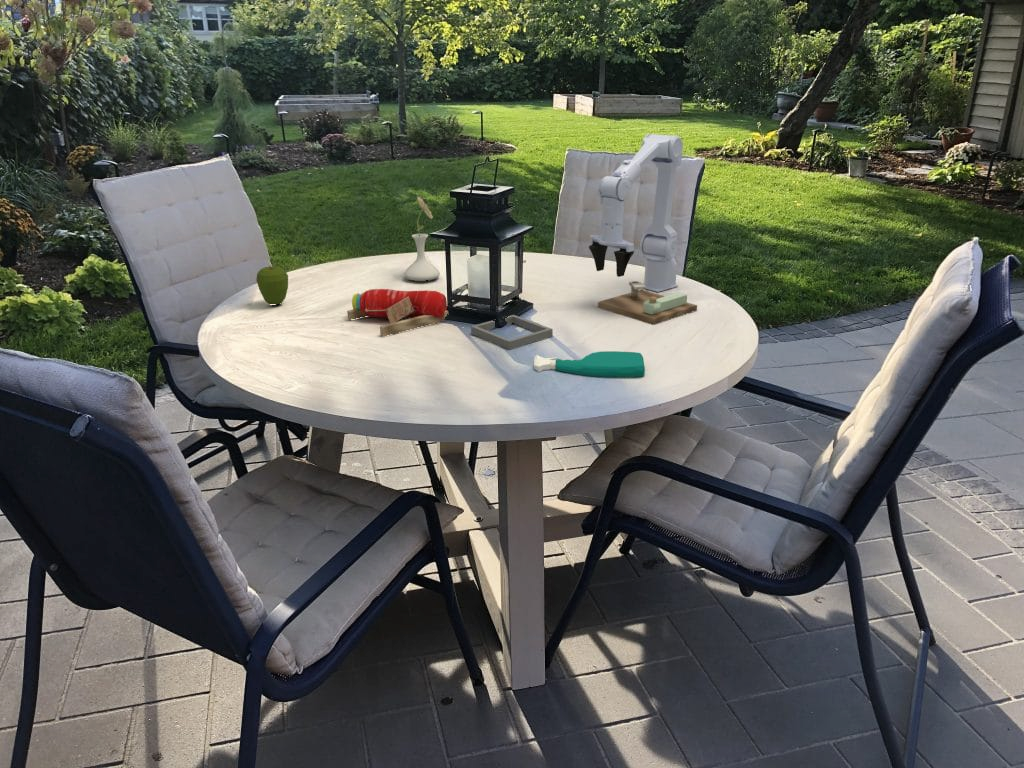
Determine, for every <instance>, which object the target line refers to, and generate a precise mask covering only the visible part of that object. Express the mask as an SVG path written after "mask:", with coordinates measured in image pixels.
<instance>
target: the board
mask: <svg viewBox="0 0 1024 768" xmlns="http://www.w3.org/2000/svg"><path fill="white" fill-rule="evenodd" d="M643 284H644V283H642V282H641V281H640V280H637V281H628V285H629V286H630V288H631V290H630V292H628V293H625V294H621V295H617V296H615V297H611V298H607V299H604V300H600V301H597V308H600V309H603V310H606V311H610V312H613V313H615V314H619V315H621V314H622V316H625V317H628V318H632V319H634V318H635V319H634V320H637V319H638V320H637V321H640V320H641V321H640V322H644V323H648V324H650V323H651V325H653V324H654V325H657V324H659V323H662V321H663V322H667V321H669V320H672V319H671V318H673V319H675V318H674V317H676V318H678V316H679V317H681V315H682V316H684V315H683V314H685V315H687V314H686V313H688V314H690V313H689V312H691V313H693V312H692V311H694V312H696V311H695V310H697V311H698V305H697V304H694V303H690V302H687V304H684V305H681V306H677V307H674V308H671V309H668V310H665V311H661V312H660V313H658V314H652V315H651V314H648V313H645V312H643V303H645V302H646V301H649V300H650V301H649V302H650V303H656V300H657V299H658V298H662V297H665V296H666V295H662V294H659V293H658V294H657V293H654V292H652V291H649V290H646V289H645V285H643ZM668 319H669V320H668Z"/></svg>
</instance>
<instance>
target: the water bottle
mask: <svg viewBox="0 0 1024 768" xmlns="http://www.w3.org/2000/svg"><path fill="white" fill-rule="evenodd" d="M352 296H353V297H352V300H351V304H352V305H351V306H352V310H353V309H356V310H357V309H359V310H361V311H362V312H363V313H365V314H366V315H368V316H370V317H371V318H378V319H379V318H380V319H388V321H389V322H390V323H394V322H398V321H402V320H405V319H410V318H414V317H418V316H422V315H433V316H434V317H437V318H442V317H444V312H445V311H446V310H447V309H448V308H447V307H448V303H447V297H446V295H445V294H444V293H442V292H439V291H437V290H428V289H427V290H396V289H389V288H374V289H368V290H366V291H364V292H362V293H361V294H360V293H359V292H358V293H354V294H353V295H352ZM390 323H389V324H390Z"/></svg>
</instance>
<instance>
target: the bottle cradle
mask: <svg viewBox="0 0 1024 768" xmlns="http://www.w3.org/2000/svg"><path fill="white" fill-rule="evenodd" d="M447 314H448V315H449V310H447V309H446V311H445V312H444V317H442V318H437V317H434V316H433V315H422V316H418V317H414V318H405V319H403V320H401V321H398V322H394V323H387V324H383V325H380V326H379V332H380V333H379V335H382V336H386V337H388V336H387V335H390V334H393V335H396V334H395V333H397V334H400V333H399V332H401V333H403V332H402V331H405V332H407V331H406V330H409V331H411V330H410V329H413V330H415V329H414V328H417V327H421V326H424V327H426V326H425V325H428V326H430V325H429V324H432V325H434V324H433V323H436V324H438V322H440V323H443V322H442V321H443V320H444V319H445V317H446V316H447ZM346 315H347V320H348V319H350V320H351V319H356V318H360V317H365V316H368V315H366V314H365V313H363V312H362V311H361V310H359V309H357V310H356V309H353V308H352V309H349V310H347V314H346ZM350 320H349V321H350ZM421 328H422V327H421ZM417 329H418V328H417ZM382 336H381V337H382ZM390 336H391V335H390Z"/></svg>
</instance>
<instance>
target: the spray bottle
mask: <svg viewBox="0 0 1024 768" xmlns="http://www.w3.org/2000/svg"><path fill="white" fill-rule="evenodd" d="M644 360H645V359H644V357H643V354H642V353H640V352H635V351H618V350H617V351H615V350H613V351H605V350H604V351H596V352H591V353H589V354H588V355H586V356H584V357H583V358H581V359H561V358H558V357H557V356H556V357H549V358H545V357H543V356H540V355H538V354H536V355H535V357H534V360H533V362H534V363H533V368H534V369H535V370H536V371H537V372H538V373H539V372H543V371H546V370H548V371H549V370H553V371H554V370H555V371H560V372H564V373H570V374H575V375H580V376H586V377H587V376H588V377H597V378H643V377H644V376H645V374H646V372H645V371H646V367H645V361H644Z"/></svg>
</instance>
